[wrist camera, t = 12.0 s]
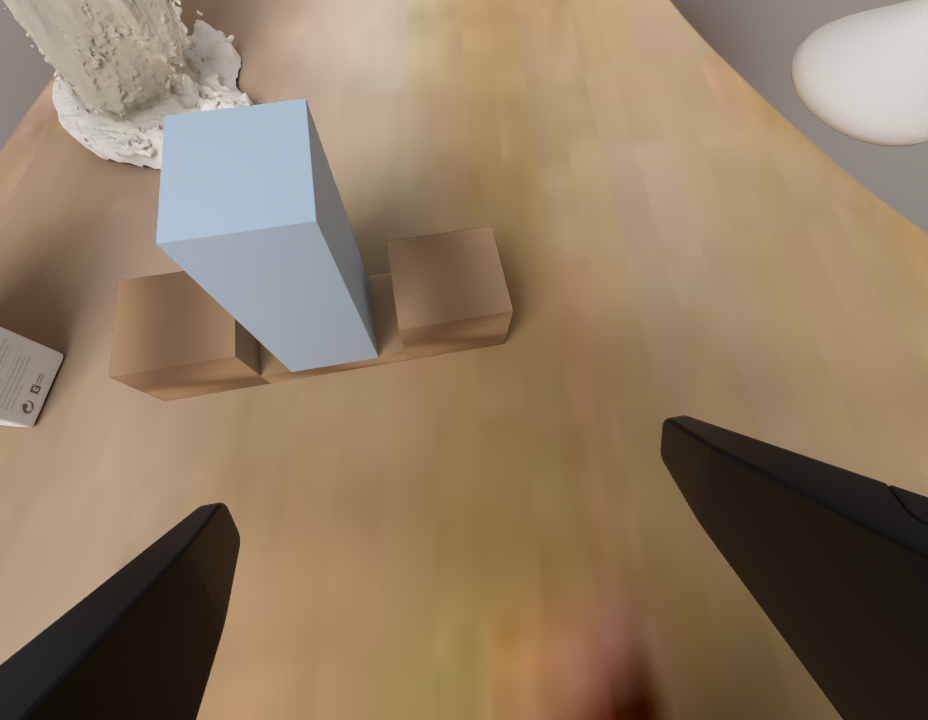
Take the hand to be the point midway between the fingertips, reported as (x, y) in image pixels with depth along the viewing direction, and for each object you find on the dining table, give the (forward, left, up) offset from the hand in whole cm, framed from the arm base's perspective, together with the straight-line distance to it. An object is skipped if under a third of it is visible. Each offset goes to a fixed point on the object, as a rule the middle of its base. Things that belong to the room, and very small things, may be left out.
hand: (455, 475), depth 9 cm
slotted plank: (+11, +5, -14) cm, 18 cm away
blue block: (+10, +5, -12) cm, 17 cm away
